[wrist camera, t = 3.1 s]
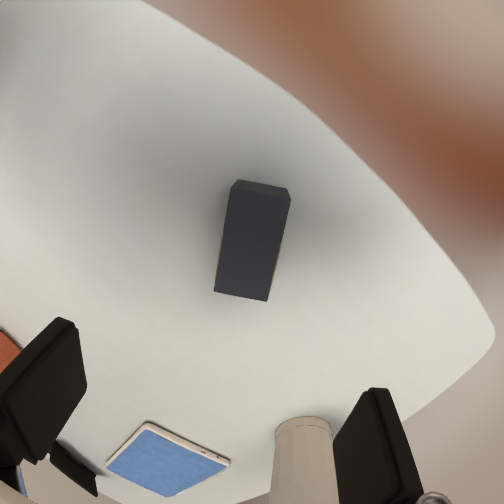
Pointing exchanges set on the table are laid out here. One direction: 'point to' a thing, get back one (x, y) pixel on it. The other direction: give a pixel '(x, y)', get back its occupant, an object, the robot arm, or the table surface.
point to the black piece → (73, 468)
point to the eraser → (251, 239)
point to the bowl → (7, 351)
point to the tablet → (164, 461)
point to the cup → (303, 463)
